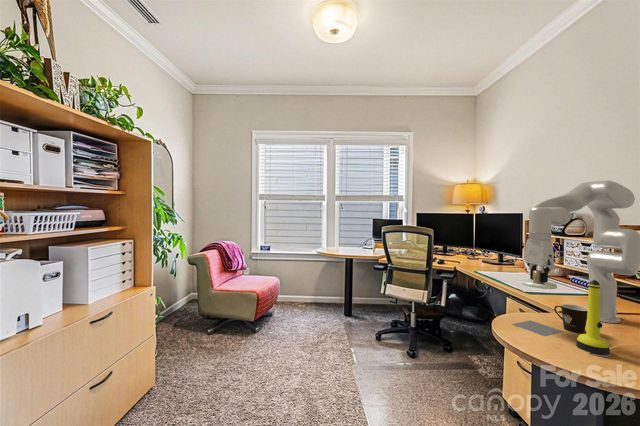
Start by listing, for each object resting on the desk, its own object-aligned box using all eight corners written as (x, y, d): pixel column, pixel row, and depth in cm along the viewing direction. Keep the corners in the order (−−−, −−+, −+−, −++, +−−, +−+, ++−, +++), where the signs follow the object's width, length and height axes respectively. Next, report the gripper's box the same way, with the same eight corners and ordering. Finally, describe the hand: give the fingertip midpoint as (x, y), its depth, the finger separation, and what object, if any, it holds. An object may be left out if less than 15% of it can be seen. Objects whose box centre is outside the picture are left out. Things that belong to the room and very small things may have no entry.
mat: (530, 321, 133) (530, 320, 133) (563, 332, 121) (563, 331, 121) (511, 325, 127) (511, 324, 127) (544, 337, 116) (544, 336, 116)
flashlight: (572, 278, 107) (604, 283, 99) (586, 276, 111) (617, 281, 103) (570, 347, 108) (601, 358, 99) (584, 343, 111) (615, 354, 103)
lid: (532, 280, 132) (532, 267, 132) (563, 287, 121) (563, 272, 121) (514, 283, 127) (515, 269, 127) (545, 290, 116) (546, 274, 116)
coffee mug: (593, 337, 117) (594, 311, 117) (568, 334, 119) (569, 309, 119) (574, 326, 129) (575, 303, 129) (551, 324, 131) (552, 301, 130)
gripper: (515, 235, 132) (515, 276, 132) (549, 238, 115) (548, 286, 115) (531, 235, 133) (530, 276, 133) (566, 239, 116) (565, 285, 116)
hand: (538, 280), depth 124 cm, fingers closed on lid, 4 cm apart
